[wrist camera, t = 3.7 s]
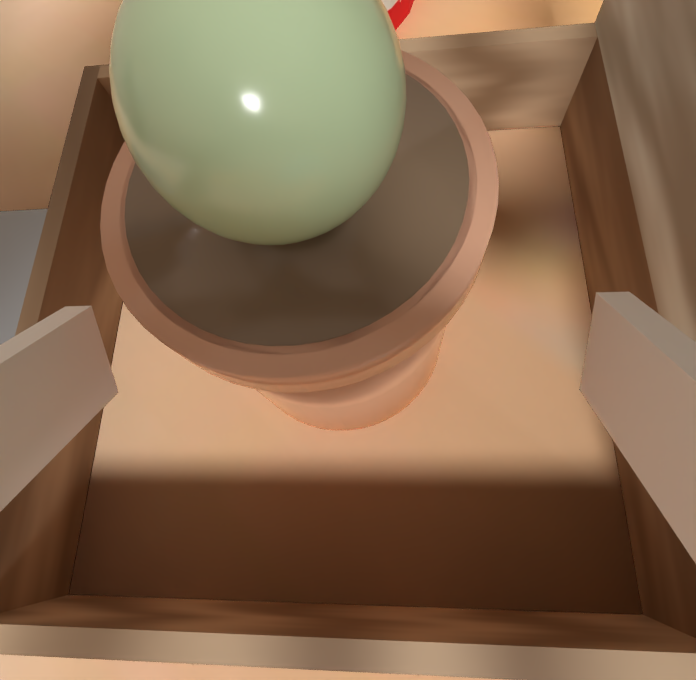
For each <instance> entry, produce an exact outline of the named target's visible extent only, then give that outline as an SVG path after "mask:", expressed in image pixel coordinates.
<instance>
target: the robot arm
mask: <svg viewBox="0 0 696 680" xmlns="http://www.w3.org/2000/svg"><path fill="white" fill-rule="evenodd" d="M579 390H580V391H581V393H582V394H583V396H584V397H585V399H586V400H587V402H588V403H589V405H590V406H591V408H592V409H593V411H594V412H595V414H596V415H597V417H598V418H599V420H600V421H601V423H602V424H603V426H604V427H605V429H606V430H607V432H608V433H609V435H610V436H611V438H612V439H613V441H614V442H615V444H616V445H617V447H618V448H619V450H620V451H621V453H622V454H623V456H624V457H625V459H626V460H627V462H628V463H629V465H630V466H631V468H632V469H633V471H634V472H635V474H636V475H637V477H638V478H639V480H640V481H641V483H642V484H643V486H644V487H645V489H646V490H647V492H648V493H649V495H650V496H651V498H652V499H653V501H654V502H655V504H656V505H657V507H658V508H659V510H660V511H661V513H662V514H663V516H664V517H665V519H666V520H667V522H668V523H669V525H670V526H671V528H672V529H673V531H674V532H675V534H676V535H677V537H678V538H679V540H680V541H681V543H682V544H683V546H684V547H685V549H686V550H687V552H688V553H689V555H690V556H691V558H692V559H693V561H694V562H695V564H696V342H695V341H693V340H692V339H691V338H689V337H688V336H687V335H685V334H684V333H683V332H682V331H680V330H679V329H678V328H676V327H675V326H674V325H672V324H671V323H670V322H668V321H667V320H666V319H665V318H663V317H662V316H661V315H659V314H658V313H657V312H655V311H654V310H653V309H651V308H650V307H649V306H648V305H646V304H645V303H644V302H642V301H641V300H640V299H638V298H637V297H636V296H634V295H633V294H632V293H630V292H596V296H595V302H594V307H593V313H592V319H591V325H590V331H589V337H588V342H587V348H586V354H585V360H584V366H583V372H582V377H581V383H580V389H579ZM117 393H118V389H117V386H116V383H115V379H114V376H113V373H112V370H111V367H110V363H109V360H108V357H107V354H106V351H105V347H104V344H103V341H102V338H101V335H100V331H99V328H98V325H97V322H96V319H95V315H94V312H93V309H92V306H65V307H64V308H62V309H60V310H58V311H57V312H55V313H53V314H52V315H50V316H48V317H47V318H45V319H43V320H41V321H40V322H38V323H36V324H35V325H33V326H31V327H30V328H28V329H26V330H24V331H23V332H21V333H19V334H18V335H16V336H14V337H13V338H11V339H9V340H8V341H6V342H4V343H2V344H1V345H0V512H1V511H2V510H3V509H4V508H5V507H6V506H7V505H8V504H9V502H10V501H11V500H12V499H13V498H14V497H15V496H16V495H17V494H18V493H19V492H20V491H21V490H22V489H23V488H24V487H25V486H26V485H27V484H28V483H29V482H30V481H31V480H32V479H33V478H34V477H35V476H36V475H37V474H38V473H39V472H40V471H41V470H42V469H43V468H44V467H45V466H46V465H47V464H48V463H49V462H50V461H51V460H52V459H53V458H54V457H55V456H56V455H57V454H58V453H59V452H60V451H61V450H62V449H63V448H64V447H65V446H66V445H67V444H68V443H69V442H70V441H71V440H72V439H73V438H74V437H75V436H76V435H77V434H78V433H79V432H80V431H81V430H82V429H83V428H84V427H85V426H86V425H87V423H88V422H89V421H90V420H91V419H92V418H93V417H94V416H95V415H96V414H97V413H98V412H99V411H100V410H101V409H102V408H103V407H104V406H105V405H106V404H107V403H108V402H109V401H110V400H111V399H112V398H113V397H114V396H115V395H116V394H117Z"/></svg>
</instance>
